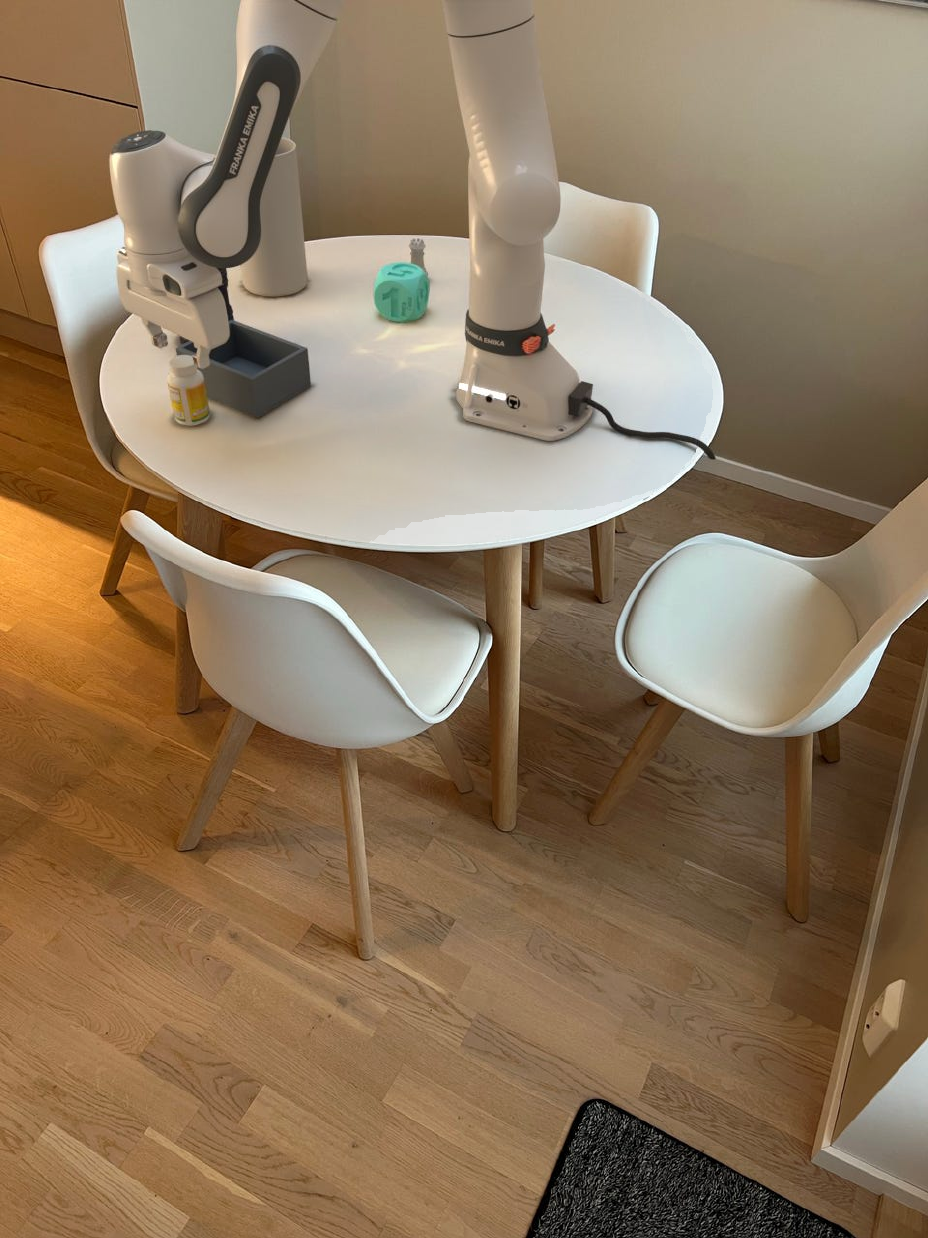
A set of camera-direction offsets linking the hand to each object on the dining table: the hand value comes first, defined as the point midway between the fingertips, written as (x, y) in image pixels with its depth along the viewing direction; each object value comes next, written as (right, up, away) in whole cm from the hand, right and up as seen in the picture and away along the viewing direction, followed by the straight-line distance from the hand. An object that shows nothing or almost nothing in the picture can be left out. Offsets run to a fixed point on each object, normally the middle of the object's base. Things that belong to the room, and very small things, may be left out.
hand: (181, 355), depth 137 cm
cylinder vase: (+5, +26, +44) cm, 51 cm away
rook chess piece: (+33, +28, +47) cm, 63 cm away
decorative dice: (+30, +18, +36) cm, 51 cm away
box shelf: (+6, -1, +15) cm, 16 cm away
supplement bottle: (0, -8, +8) cm, 11 cm away
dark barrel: (-3, +10, +27) cm, 29 cm away
